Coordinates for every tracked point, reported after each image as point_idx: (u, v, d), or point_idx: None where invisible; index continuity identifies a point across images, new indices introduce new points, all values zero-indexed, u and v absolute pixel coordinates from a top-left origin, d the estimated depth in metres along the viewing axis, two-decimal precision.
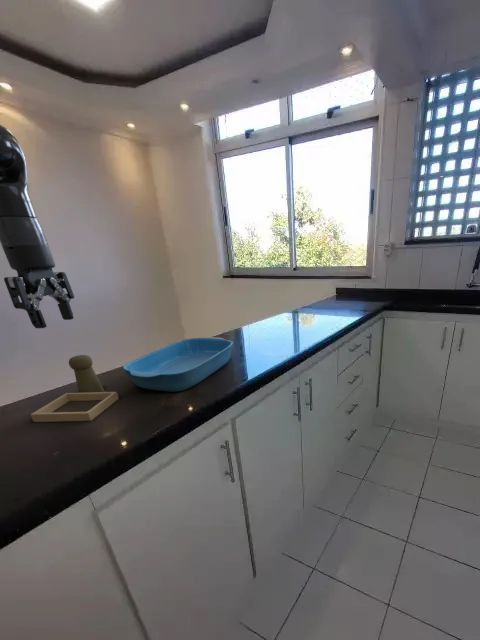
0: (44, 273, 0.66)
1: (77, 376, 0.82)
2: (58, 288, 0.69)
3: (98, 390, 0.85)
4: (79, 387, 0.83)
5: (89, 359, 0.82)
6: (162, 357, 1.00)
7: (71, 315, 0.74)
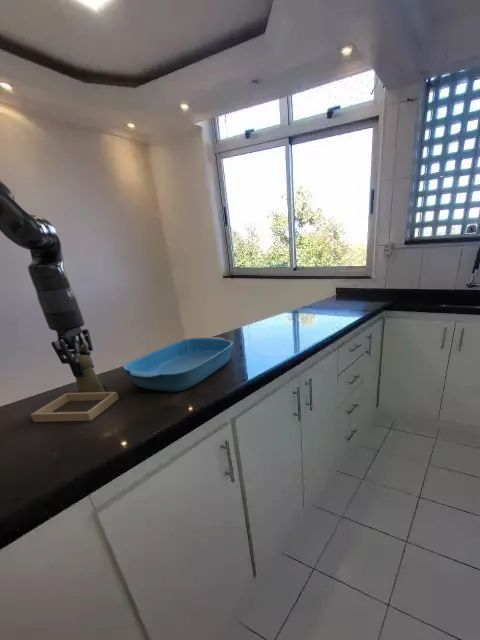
0: (75, 330, 0.79)
1: None
2: (84, 342, 0.82)
3: (98, 390, 0.85)
4: (79, 387, 0.83)
5: (89, 359, 0.82)
6: (162, 357, 1.00)
7: (92, 365, 0.86)
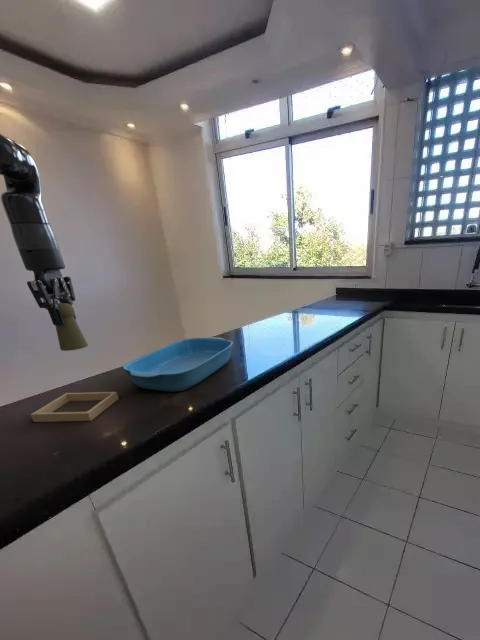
0: (55, 274, 0.73)
1: (57, 325, 0.76)
2: (65, 288, 0.76)
3: (80, 342, 0.79)
4: (59, 338, 0.77)
5: (70, 307, 0.76)
6: (162, 357, 1.00)
7: (74, 316, 0.80)
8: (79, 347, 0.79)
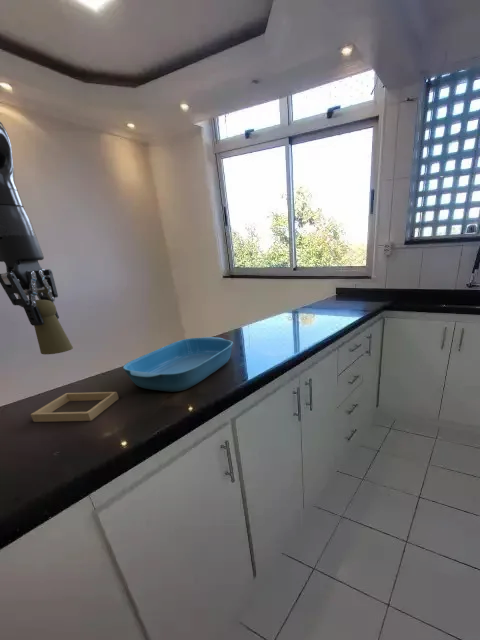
0: (32, 266, 0.63)
1: None
2: (45, 283, 0.66)
3: (64, 345, 0.69)
4: (39, 340, 0.67)
5: (51, 304, 0.66)
6: (162, 357, 1.00)
7: (57, 315, 0.70)
8: (62, 350, 0.69)
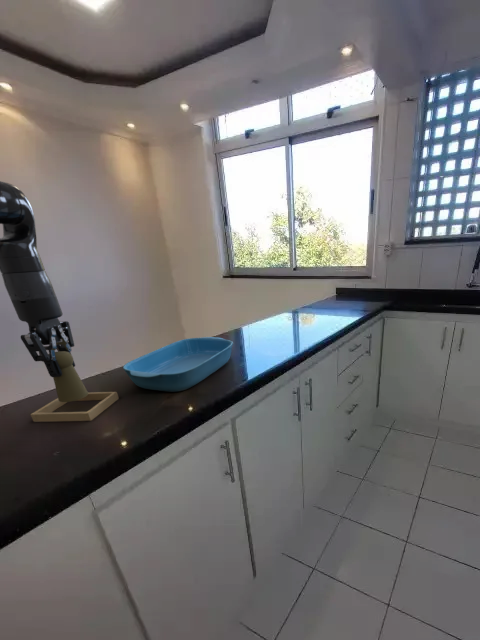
0: (51, 322, 0.68)
1: None
2: (63, 336, 0.70)
3: (80, 392, 0.73)
4: (57, 389, 0.71)
5: (68, 356, 0.70)
6: (162, 357, 1.00)
7: (73, 363, 0.74)
8: (79, 397, 0.73)
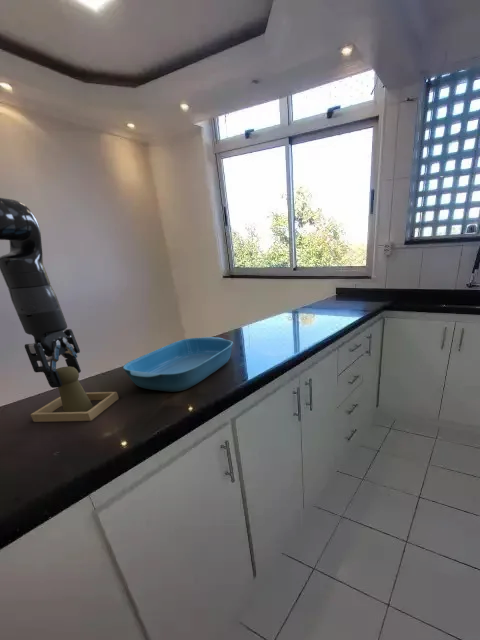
0: (56, 334, 0.69)
1: (61, 391, 0.72)
2: (68, 346, 0.72)
3: (85, 406, 0.75)
4: (63, 403, 0.73)
5: (74, 371, 0.72)
6: (162, 357, 1.00)
7: (79, 369, 0.76)
8: (84, 411, 0.75)
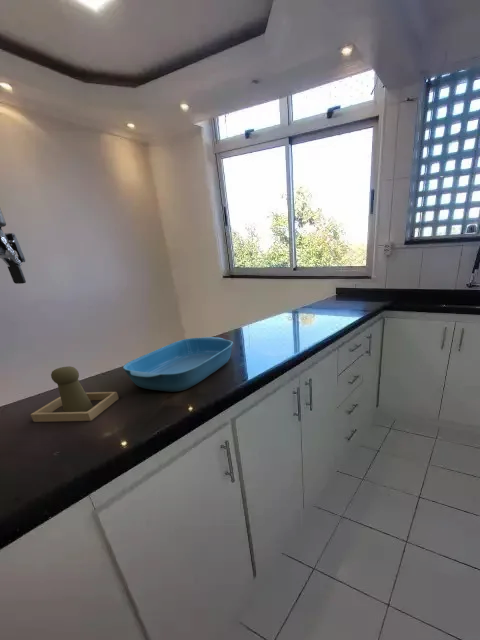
0: None
1: (61, 391, 0.72)
2: (9, 249, 0.68)
3: (85, 406, 0.75)
4: (63, 403, 0.73)
5: (74, 371, 0.72)
6: (162, 357, 1.00)
7: (23, 279, 0.72)
8: (84, 411, 0.75)
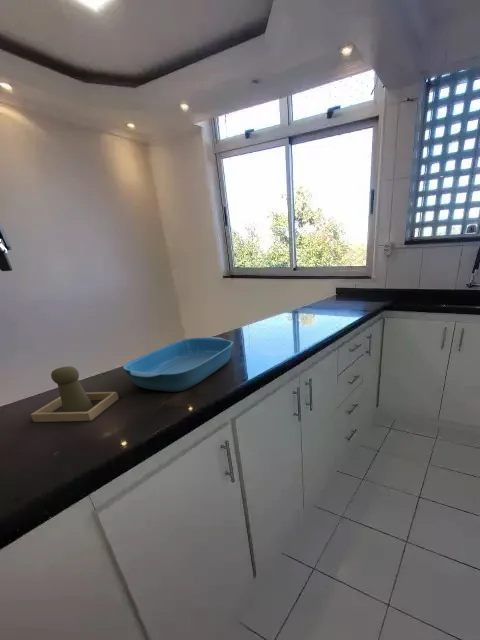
0: None
1: (61, 391, 0.72)
2: None
3: (85, 406, 0.75)
4: (63, 403, 0.73)
5: (74, 371, 0.72)
6: (162, 357, 1.00)
7: (10, 266, 0.73)
8: (84, 411, 0.75)
